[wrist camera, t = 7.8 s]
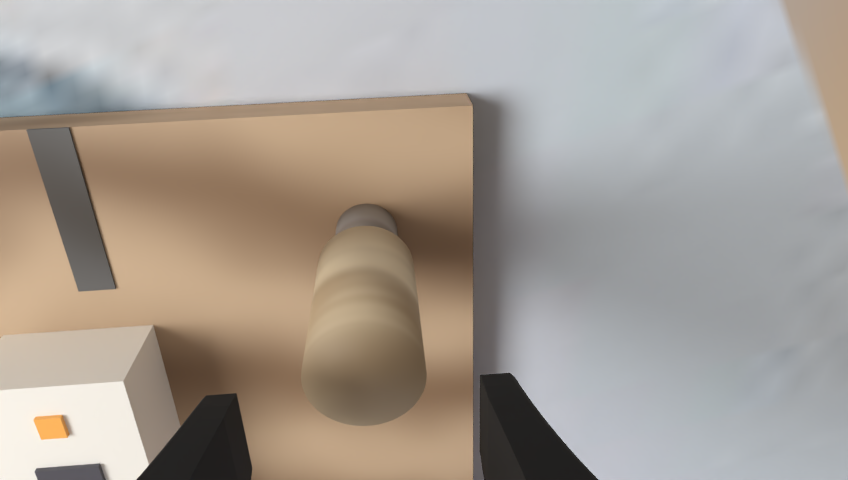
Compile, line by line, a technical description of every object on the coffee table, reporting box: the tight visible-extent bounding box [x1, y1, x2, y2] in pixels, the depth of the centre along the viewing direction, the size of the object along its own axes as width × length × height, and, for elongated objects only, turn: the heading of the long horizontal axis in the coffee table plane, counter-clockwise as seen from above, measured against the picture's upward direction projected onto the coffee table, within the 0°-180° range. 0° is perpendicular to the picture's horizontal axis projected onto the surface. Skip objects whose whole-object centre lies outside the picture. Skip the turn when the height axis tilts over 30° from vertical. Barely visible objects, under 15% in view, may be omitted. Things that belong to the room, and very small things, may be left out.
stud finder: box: [0, 325, 181, 480], centre depth 22 cm, size 8×5×3 cm, turn 2°
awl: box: [301, 204, 427, 426], centre depth 18 cm, size 3×3×8 cm
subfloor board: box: [0, 93, 473, 480], centre depth 24 cm, size 20×19×2 cm
